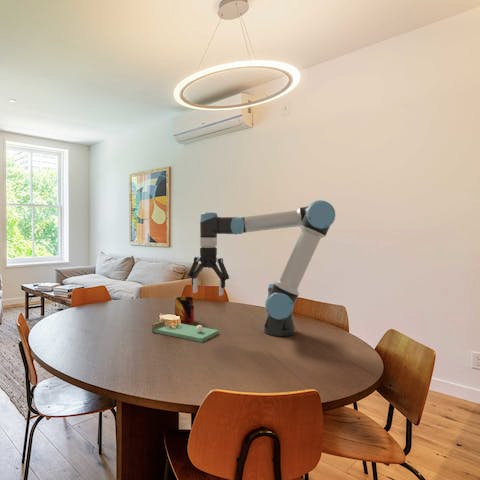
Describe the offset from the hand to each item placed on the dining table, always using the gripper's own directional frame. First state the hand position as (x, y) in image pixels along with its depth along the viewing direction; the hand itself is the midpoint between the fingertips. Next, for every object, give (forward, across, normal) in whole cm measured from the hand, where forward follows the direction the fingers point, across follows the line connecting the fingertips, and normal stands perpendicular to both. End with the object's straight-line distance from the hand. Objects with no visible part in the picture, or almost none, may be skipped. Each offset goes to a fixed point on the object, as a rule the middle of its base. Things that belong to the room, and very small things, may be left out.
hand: (208, 293), depth 154 cm
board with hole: (+19, +12, +1) cm, 22 cm away
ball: (+16, +4, +1) cm, 16 cm away
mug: (+19, +22, -16) cm, 33 cm away
